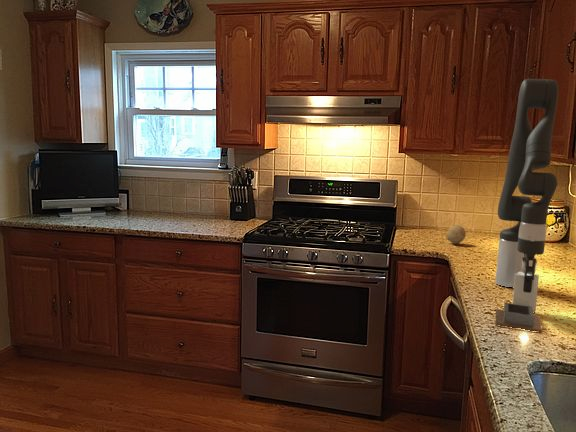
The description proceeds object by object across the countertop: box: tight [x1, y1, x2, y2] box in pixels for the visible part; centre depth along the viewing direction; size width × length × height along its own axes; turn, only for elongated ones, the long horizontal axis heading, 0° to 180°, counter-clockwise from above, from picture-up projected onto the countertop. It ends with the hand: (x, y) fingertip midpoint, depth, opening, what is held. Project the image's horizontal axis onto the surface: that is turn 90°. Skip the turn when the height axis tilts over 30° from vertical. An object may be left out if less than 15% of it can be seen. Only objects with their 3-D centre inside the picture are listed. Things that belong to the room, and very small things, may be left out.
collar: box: [494, 302, 543, 333], centre depth 152 cm, size 13×12×4 cm
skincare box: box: [512, 272, 539, 313], centre depth 161 cm, size 6×4×12 cm
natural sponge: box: [446, 224, 466, 245], centre depth 260 cm, size 9×9×10 cm
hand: (526, 288), depth 160 cm, fingers open, 8 cm apart
